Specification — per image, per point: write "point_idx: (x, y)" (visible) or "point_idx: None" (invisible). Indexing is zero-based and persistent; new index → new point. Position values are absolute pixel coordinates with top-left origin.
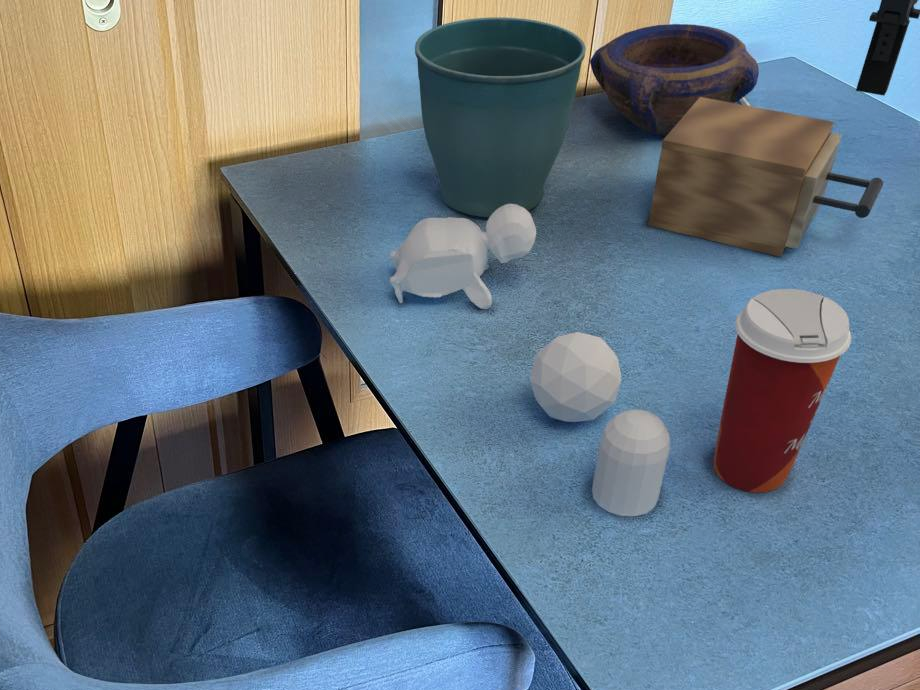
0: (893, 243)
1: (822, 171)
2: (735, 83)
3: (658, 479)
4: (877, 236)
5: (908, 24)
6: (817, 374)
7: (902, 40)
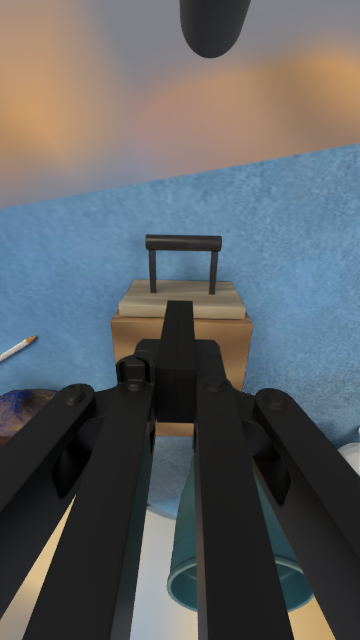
0: (163, 198)
1: (209, 304)
2: (31, 408)
3: None
4: (157, 216)
5: (163, 363)
6: None
7: (187, 346)
